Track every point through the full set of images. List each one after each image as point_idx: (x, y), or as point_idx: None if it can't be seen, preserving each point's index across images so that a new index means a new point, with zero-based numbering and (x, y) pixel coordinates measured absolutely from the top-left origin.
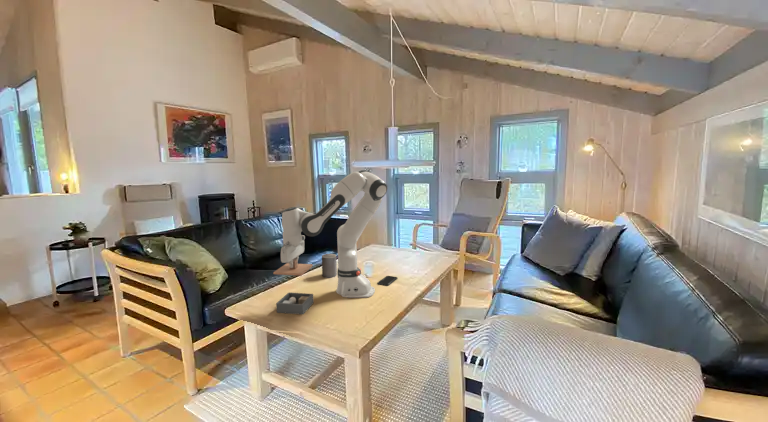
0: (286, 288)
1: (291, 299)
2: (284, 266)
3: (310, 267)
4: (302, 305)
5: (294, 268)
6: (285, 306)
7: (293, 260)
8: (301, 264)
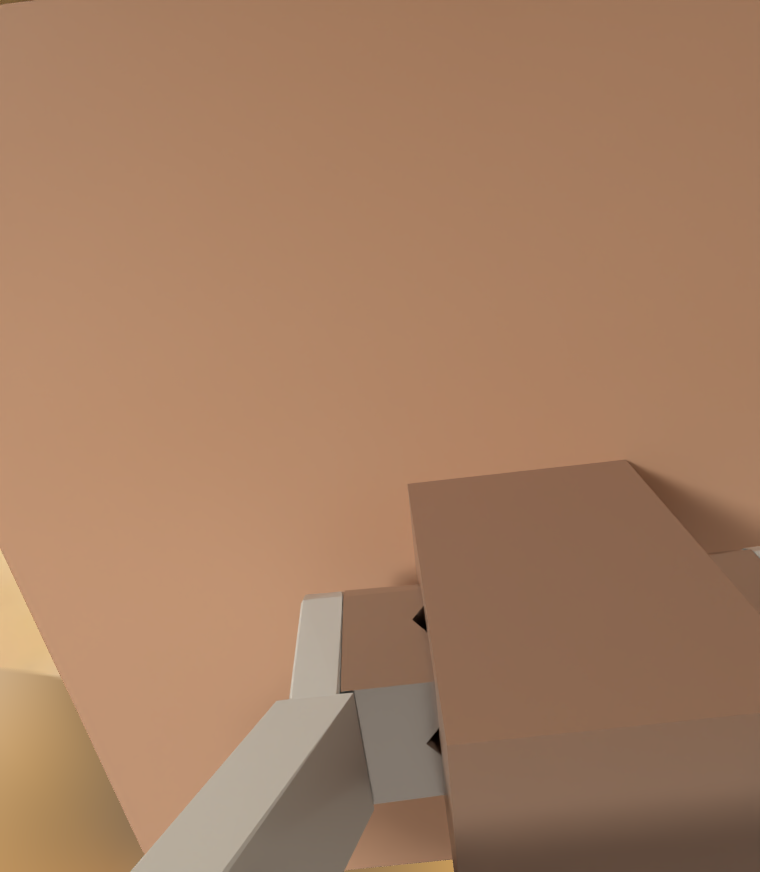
0: (23, 612)
1: None
2: (420, 821)
3: (101, 10)
4: None
5: (637, 496)
6: None
7: (605, 843)
8: (64, 523)
